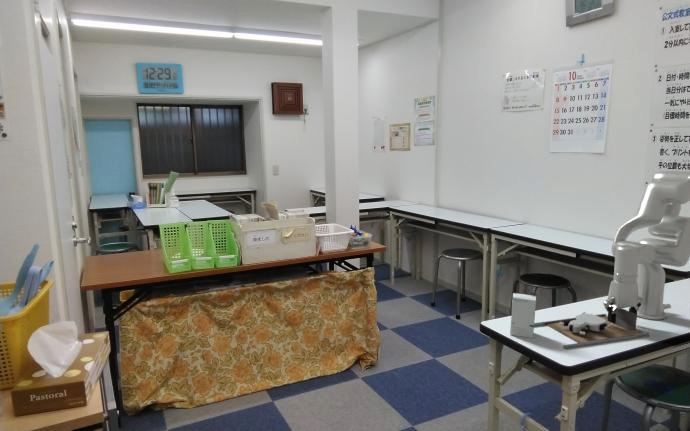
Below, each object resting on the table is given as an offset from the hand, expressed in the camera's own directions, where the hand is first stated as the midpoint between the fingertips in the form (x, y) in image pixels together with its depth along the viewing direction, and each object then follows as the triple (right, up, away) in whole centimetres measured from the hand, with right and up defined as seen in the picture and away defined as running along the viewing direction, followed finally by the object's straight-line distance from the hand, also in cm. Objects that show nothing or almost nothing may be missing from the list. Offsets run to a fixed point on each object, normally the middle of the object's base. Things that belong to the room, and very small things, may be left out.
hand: (621, 320), depth 170 cm
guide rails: (-15, -3, -3) cm, 16 cm away
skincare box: (-40, -4, -4) cm, 40 cm away
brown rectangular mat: (-12, -3, -2) cm, 12 cm away
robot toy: (-17, -3, -4) cm, 17 cm away
